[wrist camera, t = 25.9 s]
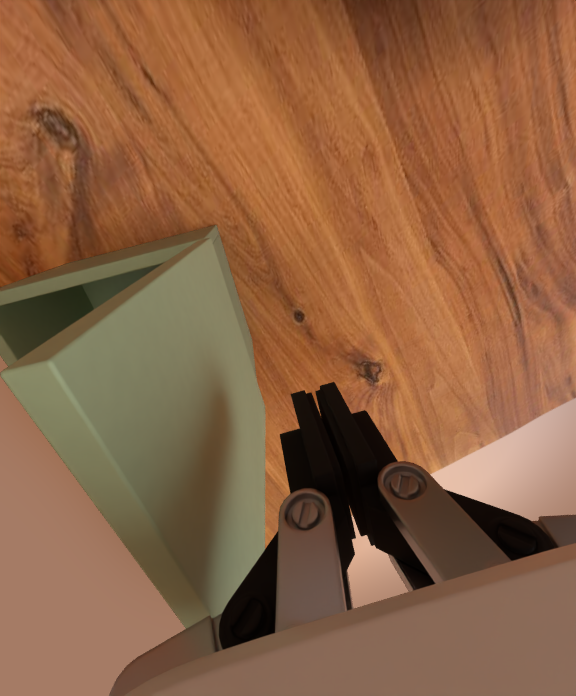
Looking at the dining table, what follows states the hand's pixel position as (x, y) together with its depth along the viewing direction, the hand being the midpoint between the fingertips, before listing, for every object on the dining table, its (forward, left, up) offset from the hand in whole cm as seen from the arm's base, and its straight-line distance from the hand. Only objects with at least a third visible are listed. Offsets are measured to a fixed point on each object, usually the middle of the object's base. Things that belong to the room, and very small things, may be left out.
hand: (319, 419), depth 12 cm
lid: (-4, 0, -3) cm, 5 cm away
